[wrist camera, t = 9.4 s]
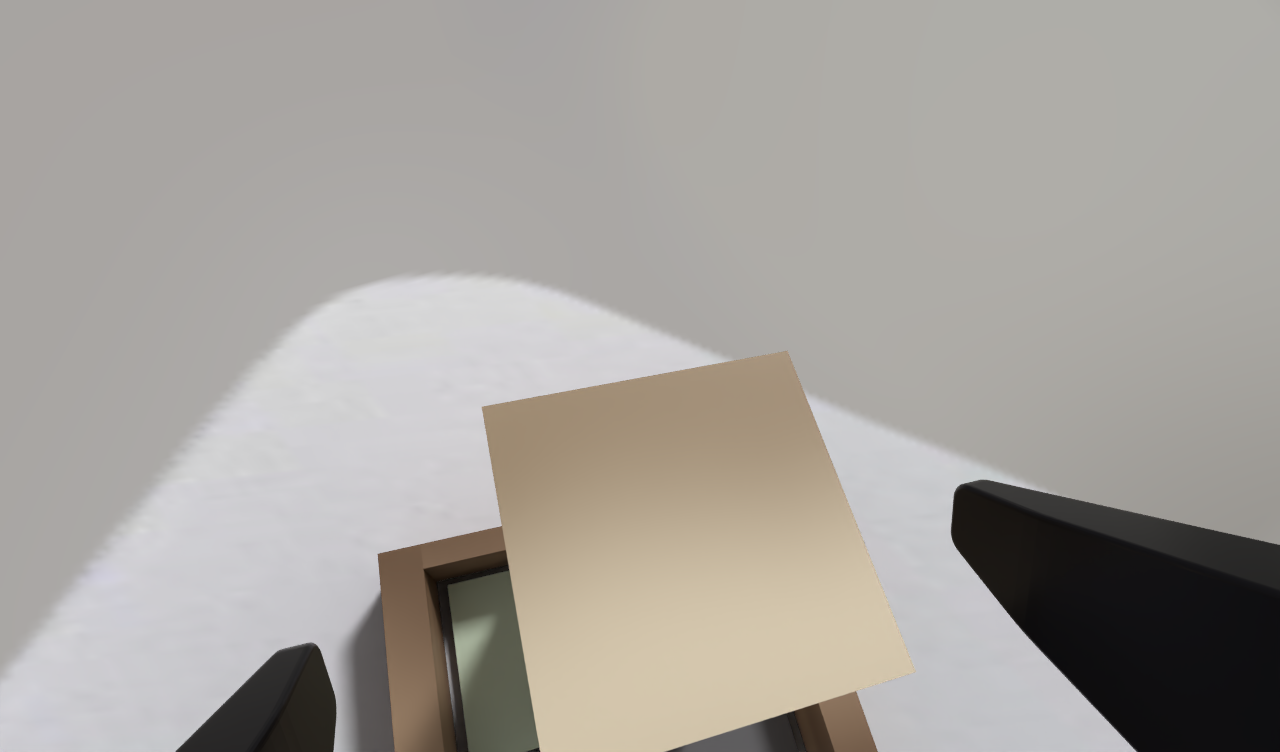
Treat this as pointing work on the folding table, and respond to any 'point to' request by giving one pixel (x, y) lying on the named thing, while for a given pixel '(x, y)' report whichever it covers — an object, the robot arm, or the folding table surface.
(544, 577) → the maple block
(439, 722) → the brown rectangular frame
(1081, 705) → the folding table surface
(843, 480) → the folding table surface
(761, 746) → the pads
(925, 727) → the folding table surface
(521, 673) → the pad
